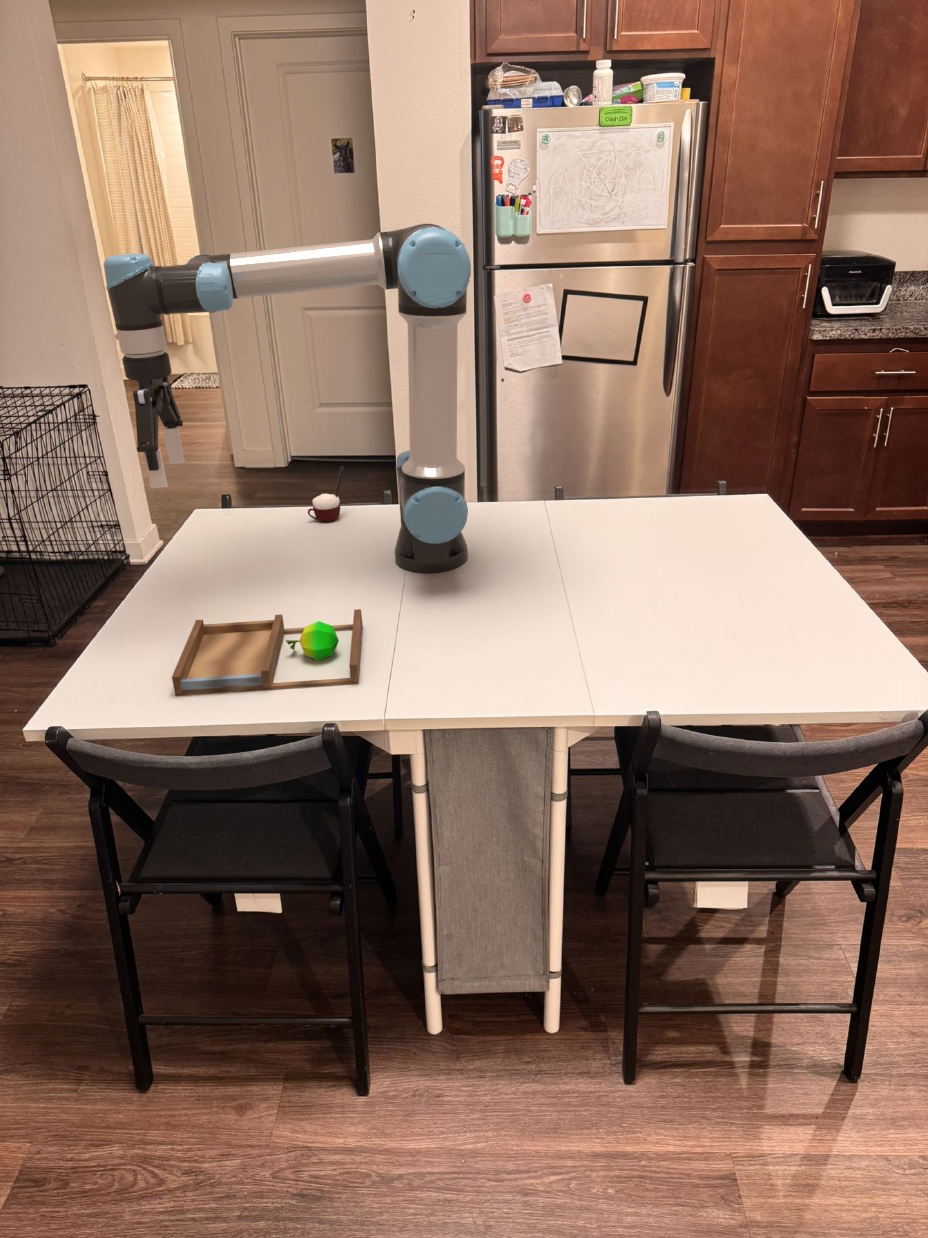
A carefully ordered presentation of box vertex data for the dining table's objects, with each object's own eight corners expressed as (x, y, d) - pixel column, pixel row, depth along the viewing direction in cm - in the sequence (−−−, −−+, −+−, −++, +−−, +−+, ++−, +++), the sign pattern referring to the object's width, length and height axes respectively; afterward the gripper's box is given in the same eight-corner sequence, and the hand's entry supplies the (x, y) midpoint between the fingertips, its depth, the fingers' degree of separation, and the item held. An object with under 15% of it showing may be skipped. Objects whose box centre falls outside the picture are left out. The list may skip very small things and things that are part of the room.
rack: (362, 626, 167) (361, 609, 165) (358, 683, 149) (356, 664, 147) (199, 637, 166) (196, 619, 164) (175, 696, 148) (171, 677, 146)
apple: (336, 615, 155) (282, 617, 155) (336, 650, 152) (281, 652, 152) (341, 630, 161) (290, 632, 161) (341, 665, 159) (289, 667, 159)
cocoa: (309, 526, 214) (300, 477, 208) (312, 515, 219) (303, 467, 213) (349, 523, 214) (342, 473, 208) (352, 512, 219) (344, 464, 213)
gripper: (141, 340, 166) (164, 455, 176) (99, 370, 144) (128, 499, 154) (183, 338, 167) (204, 452, 176) (148, 367, 144) (173, 496, 154)
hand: (168, 474), depth 165 cm, fingers open, 13 cm apart
